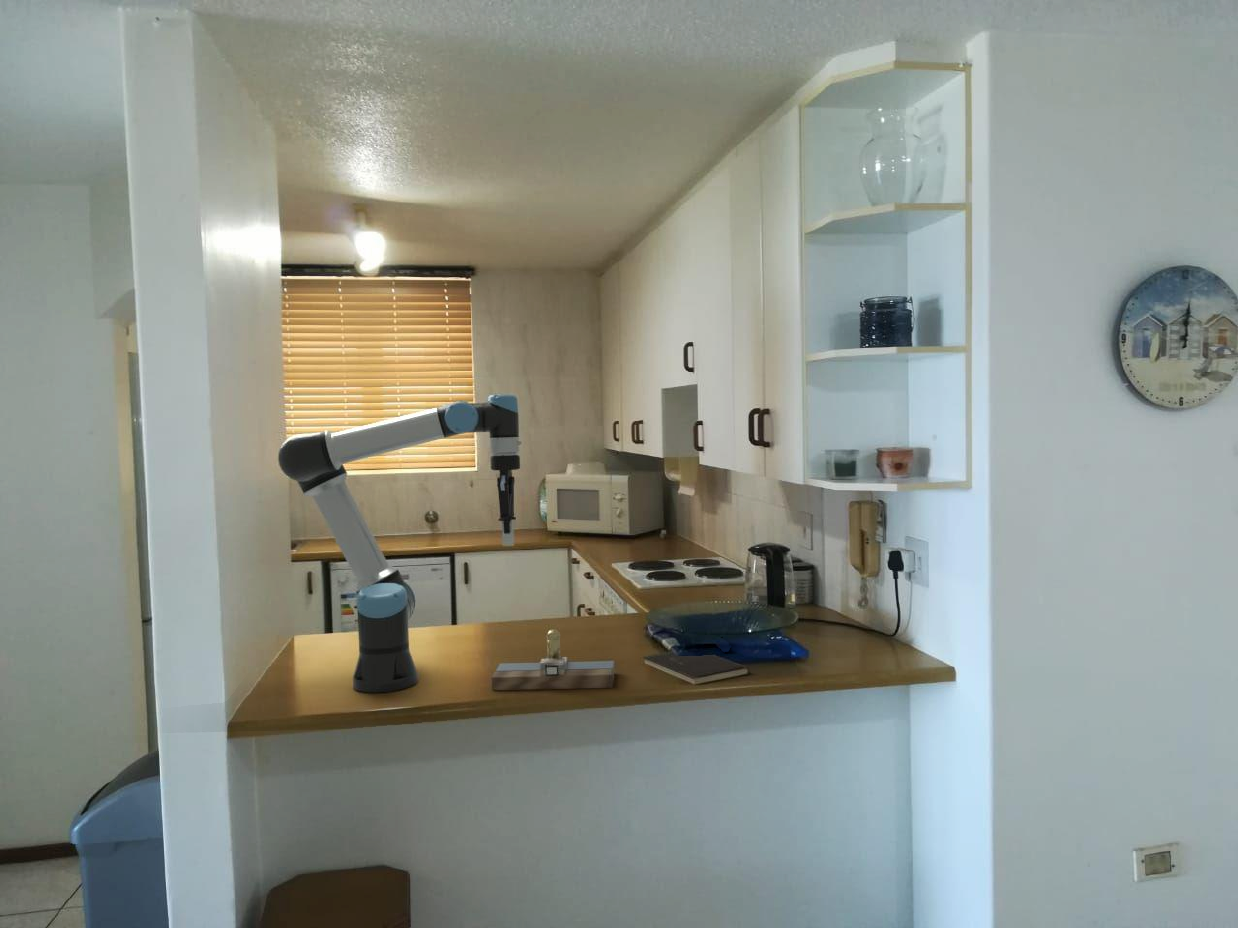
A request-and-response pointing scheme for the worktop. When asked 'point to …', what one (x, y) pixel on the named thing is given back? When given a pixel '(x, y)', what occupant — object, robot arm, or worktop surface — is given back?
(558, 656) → the bolt
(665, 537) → the worktop surface
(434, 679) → the worktop surface
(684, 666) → the hardcover book
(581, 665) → the latch base plate
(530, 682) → the block
